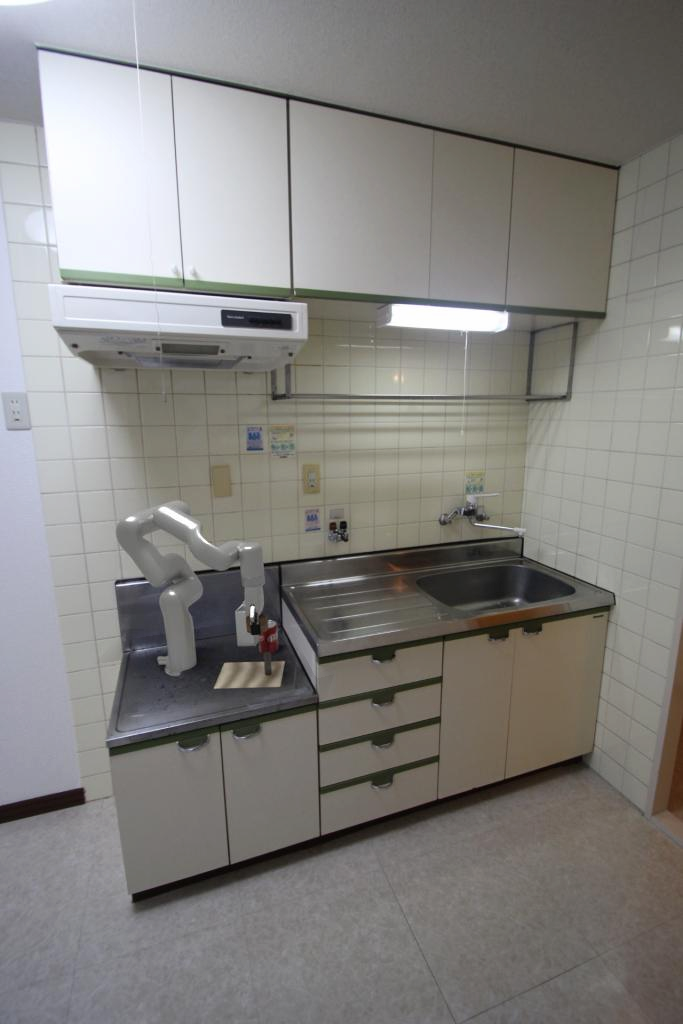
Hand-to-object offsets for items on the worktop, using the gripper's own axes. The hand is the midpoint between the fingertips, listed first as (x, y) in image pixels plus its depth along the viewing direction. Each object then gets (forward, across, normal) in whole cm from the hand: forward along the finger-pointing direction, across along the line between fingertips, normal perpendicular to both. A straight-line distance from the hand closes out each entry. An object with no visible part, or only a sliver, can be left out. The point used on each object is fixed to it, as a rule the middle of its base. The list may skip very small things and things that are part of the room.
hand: (258, 629), depth 158 cm
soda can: (+19, -17, 0) cm, 25 cm away
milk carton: (+18, -25, -9) cm, 33 cm away
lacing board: (+18, 0, -4) cm, 19 cm away
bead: (0, 0, 0) cm, 0 cm away
